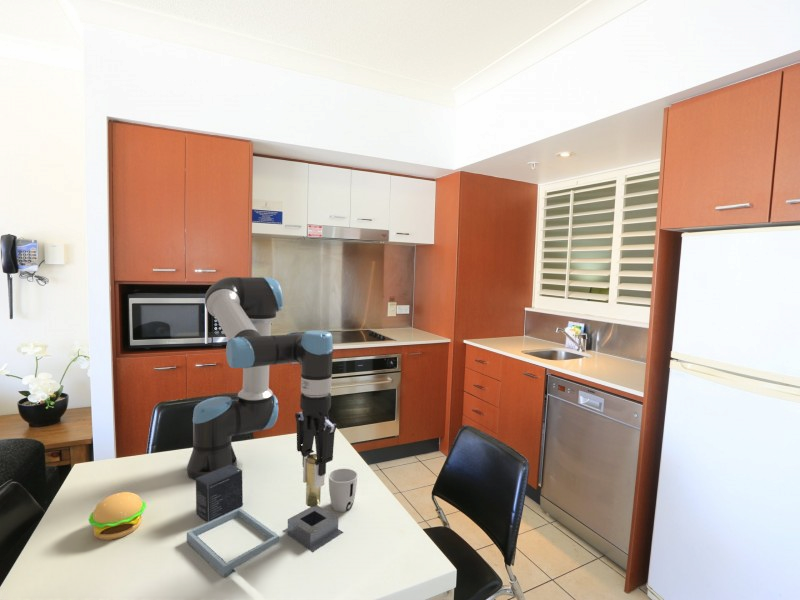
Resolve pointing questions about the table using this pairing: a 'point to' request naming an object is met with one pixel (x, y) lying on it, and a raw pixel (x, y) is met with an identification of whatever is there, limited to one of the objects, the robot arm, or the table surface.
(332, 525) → the block
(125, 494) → the hamburger
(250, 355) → the robot arm
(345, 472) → the cup
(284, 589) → the table surface
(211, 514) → the box
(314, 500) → the pin
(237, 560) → the tray
